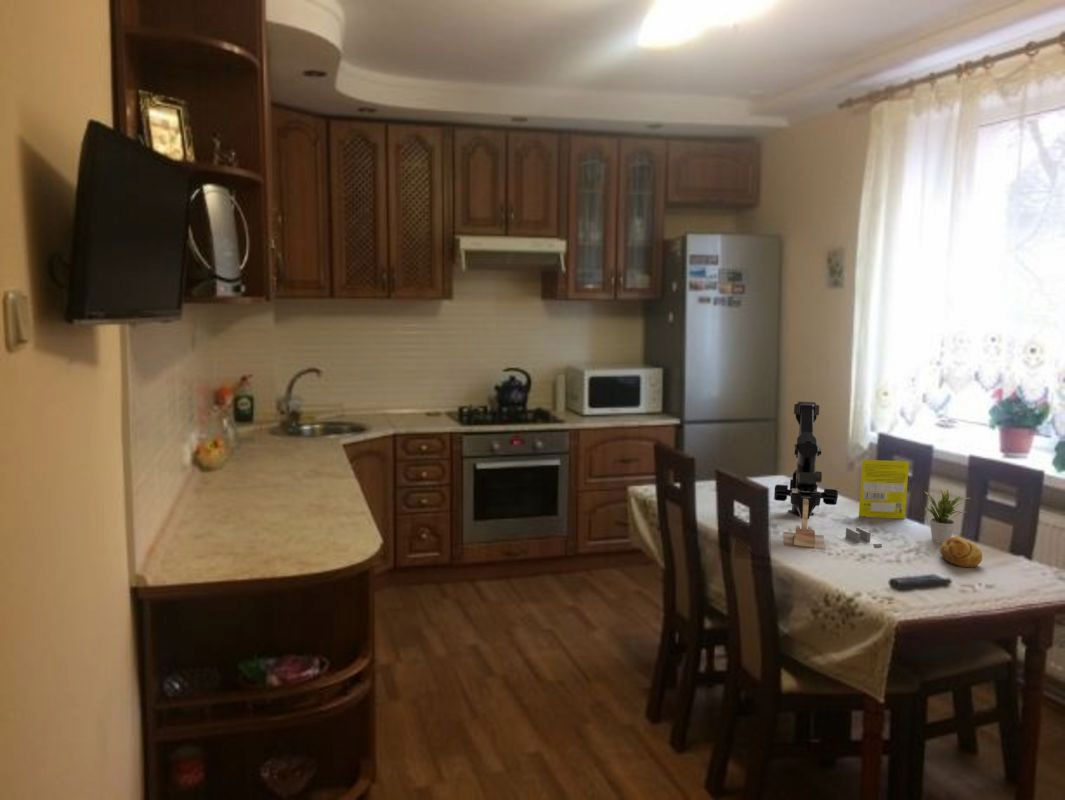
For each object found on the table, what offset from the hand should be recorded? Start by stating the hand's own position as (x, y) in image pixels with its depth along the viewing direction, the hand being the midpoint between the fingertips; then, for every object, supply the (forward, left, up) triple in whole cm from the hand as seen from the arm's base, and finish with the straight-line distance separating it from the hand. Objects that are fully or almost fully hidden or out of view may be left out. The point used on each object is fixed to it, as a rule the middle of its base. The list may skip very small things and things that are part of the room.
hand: (805, 518), depth 256 cm
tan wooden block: (-1, +1, -6) cm, 6 cm away
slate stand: (+5, +16, -8) cm, 19 cm away
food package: (-17, +44, -8) cm, 48 cm away
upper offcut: (+4, -3, -4) cm, 7 cm away
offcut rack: (+1, -1, -8) cm, 8 cm away
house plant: (+11, +44, -8) cm, 46 cm away
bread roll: (+28, +32, -8) cm, 44 cm away
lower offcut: (+4, -3, -7) cm, 8 cm away
